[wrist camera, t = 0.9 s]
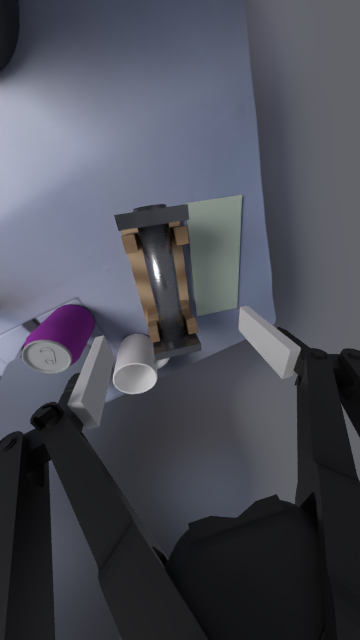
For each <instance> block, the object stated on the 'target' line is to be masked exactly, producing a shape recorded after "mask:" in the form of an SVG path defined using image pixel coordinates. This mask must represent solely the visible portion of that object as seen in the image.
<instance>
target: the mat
mask: <svg viewBox="0 0 360 640" xmlns="http://www.w3.org/2000/svg"><path fill="white" fill-rule="evenodd" d="M186 204H188V211H189V220H187V227H188V237H189V247H190V257H191V267H192V277H193V288H194V298H195V308H196V316H202V315H206V314H211V313H216V312H220V311H225V310H230V309H234V308H237V301H238V278H239V255H240V231H241V208H242V195H238V196H231V197H224V198H218V199H211V200H204V201H197V202H191V203H185V205H186Z"/></svg>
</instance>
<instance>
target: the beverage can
mask: <svg viewBox="0 0 360 640" xmlns="http://www.w3.org/2000/svg"><path fill="white" fill-rule="evenodd" d="M94 326H95V321H94V318H93V316H92V315H91V313H90V312H89V311H88V310H86V309H85V308H83V307H80V306H78V305H71V304H70V305H64V306H61V307H59V308H58V309H56V310H55V311H54V312H53V313H52V314H51V315H50V316H49V317H48V318H47V319H46V320H45V321H43V322H42V323H41V324H40V325H39V326H38V327H37V328H36V329H35V330H34V331H33V332H32V333H31V334H30V335H29V336H28V337H27V338H26V342H25V346H24V349H23V352H22V358H23V360H24V362H25V363H26V365H27V366H29V367H30V368H31V369H33V370H35V371H38V372H41V373H46V374H55V373H60V372H62V371H64V370H66V369H67V368H68V367H70V366H71V365H72V364H73V363H75V362H76V361H77V360H78V359H79V358H80V356H81V354H82V352H83V350H84V348H85V346H86V344H87V341H88V339H89V337H90V335H91V333H92V331H93V329H94Z"/></svg>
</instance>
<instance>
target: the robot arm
mask: <svg viewBox="0 0 360 640" xmlns="http://www.w3.org/2000/svg"><path fill="white" fill-rule="evenodd" d="M18 28H19V9H18V0H0V71H1V70H2V69H3V68H4V67H5V66H6V65H7V63H8V62H9V60H10V58H11V57H12V54H13V52H14V49H15V46H16V42H17V37H18ZM239 331H240V332H241V333H242V334H243V335H244V337H245V338H246V339H247V340H248V341H249V342H250V343H251V344H252V346H253V347H254V348H255V349H256V350H257V351H258V352H259V353H260V354H261V356H262V357H263V358H264V359H265V360H266V361H267V362H268V363H269V365H270V366H271V367H272V368H273V369H274V370H275V371H276V372H277V374H278V375H279V376H280V377H281V378H282V379H285V378H288V377H292V375H293V372H294V371H295V372H296V373H297V374H298V376H297V379H296V382H295V385H297V442H298V443H297V446H298V447H297V448H298V484H297V490H296V497H295V504H292V503H290V502H287V501H283V500H279V498H278V496H277V494H276V495H273V496H270V497H267V498H264V499H261V500H258V501H256V502H254V503H253V504H252V505H251V506H250V507H249V508H248V509H246V510H245V511H244V512H243V513H242V514H241V515H240V516H239V517H237V518H229V517H217V516H209V517H206V518H203V519H200V520H197V521H194V522H191V523H189V524H188V525H189V529H188V530H187V531H186V532H185V533H184V534H183V535H182V536H181V537H180V539H179V540H178V542H177V543H176V545H175V546H174V548H173V551H172V552H171V554H170V557H169V559H168V558H167V556H166V555H165V553H164V552H163V550H162V549H161V547H160V546H159V544H158V543H157V542H156V540H155V539H154V538H153V536H152V535H151V534H150V532H149V531H148V529H147V528H146V527H145V525H144V524H143V522H142V521H141V519H140V518H139V516H138V515H137V513H136V512H135V510H134V509H133V507H132V506H131V504H130V503H129V501H128V500H127V498H126V497H125V495H124V494H123V492H122V491H121V489H120V488H119V487H118V485H117V483H116V482H115V480H114V479H113V477H112V476H111V474H110V473H109V471H108V470H107V468H106V467H105V465H104V464H103V462H102V461H101V460H100V458H99V457H98V455H97V454H96V452H95V451H94V449H93V448H92V446H91V445H90V443H89V442H88V440H87V439H86V437H85V436H84V434H83V433H82V432H81V431H82V428H83V425H84V426H85V427H86V429H91V428H95V427H99V425H100V420H101V415H102V411H103V406H104V402H105V397H106V393H107V388H108V384H109V379H110V375H111V370H112V365H113V361H114V356H113V354H112V352H111V349H110V347H109V345H108V343H107V340H106V338H105V336H99V337H95V340H94V342H93V345H92V347H91V349H90V352H89V354H88V356H87V359H86V362H85V364H84V366H83V368H82V371H81V373H77V374H74V375H73V376H72V377H71V379H70V380H69V381H68V384H67V385H66V388H65V390H64V393H63V394H62V396H61V398H60V400H59V402H58V404H57V403H56V402H50V403H46V404H45V405H43V406H41V407H40V408H39V409H38V410H36V412H35V413H34V414H33V415H32V417H31V419H30V423H31V424H32V425H33V426H34V427H35V428H36V429H33V430H31V431H30V432H28V433H26V434H23V433H22V432H20V431H16V432H13V433H11V434H8V435H7V436H6V437H4V438H3V439H2V440H1V441H0V640H55V623H54V598H53V597H54V596H53V571H52V544H51V517H50V492H49V491H50V490H49V463H48V461H50V460H52V462H53V464H54V466H55V469H56V471H57V473H58V475H59V478H60V480H61V482H62V484H63V487H64V489H65V491H66V493H67V496H68V498H69V501H70V503H71V505H72V508H73V510H74V512H75V515H76V517H77V519H78V521H79V524H80V526H81V528H82V530H83V533H84V535H85V537H86V540H87V542H88V544H89V547H90V549H91V551H92V554H93V556H94V558H95V560H96V563H97V565H98V570H99V573H98V579H99V583H100V586H101V589H102V592H103V595H104V597H105V599H106V602H107V604H108V607H109V609H110V611H111V614H112V616H113V619H114V621H115V623H116V626H117V628H118V631H119V633H120V635H121V638H122V640H360V481H359V479H358V477H357V473H356V469H355V464H354V460H353V455H352V451H351V447H350V442H349V438H348V433H347V429H346V425H345V420H344V415H343V411H342V406H343V408H344V409H345V411H346V413H347V415H348V417H349V418H350V420H351V422H352V424H353V426H354V427H355V430H356V431H357V433H358V435H359V437H360V351H359V350H355V349H350V348H349V349H343V350H342V352H341V353H340V354H327V353H326V352H324V351H322V350H320V349H314V348H309V347H308V346H307V345H305V344H304V343H303V342H301V341H300V340H299V339H297V338H295V336H293V335H291V333H289V332H288V331H287V330H285V329H282V328H280V327H278V328H275V327H274V326H273V325H271V324H270V323H269V322H268V321H266V320H265V319H264V318H263V317H261V316H260V315H259V314H257V313H256V312H255V311H254V310H252V309H251V308H250V307H249V306H242V307H240V315H239ZM341 404H342V406H341Z"/></svg>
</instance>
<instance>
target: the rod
mask: <svg viewBox="0 0 360 640" xmlns="http://www.w3.org/2000/svg"><path fill="white" fill-rule="evenodd" d="M114 216H115V220H116V223H117V227H118V230H119V231H121V230H127V229H134V228H137V229H138V233H139V238H140V242H141V246H142V250H143V255H144V259H145V263H146V268H147V272H148V276H149V280H150V285H151V289H152V293H153V298H154V302H155V306H156V310H157V315H158V319H159V323H160V328H161V329H160V330H159V336H160V341H157V342H153V349H154V356H155V360H156V361H158V360H162V359H166V358H170V357H175V356H179V355H183V354H188V353H192V352H196V351H201V343H200V341H199V339H198V337H197V335H196V333H193V334H189V333H188V330H187V328H186V325H185V324H184V323H183V316H182V309H181V302H180V296H179V289H178V282H177V275H176V268H175V262H174V255H173V248H172V241H171V234H170V228H169V223H172V222H178V221H184V220H189V211H188V204H186V205H179V206H172V207H166V204H159V205H151V206H144V207H139V208H136V209H133V212H132V213H125V214H119V215H114Z"/></svg>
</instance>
